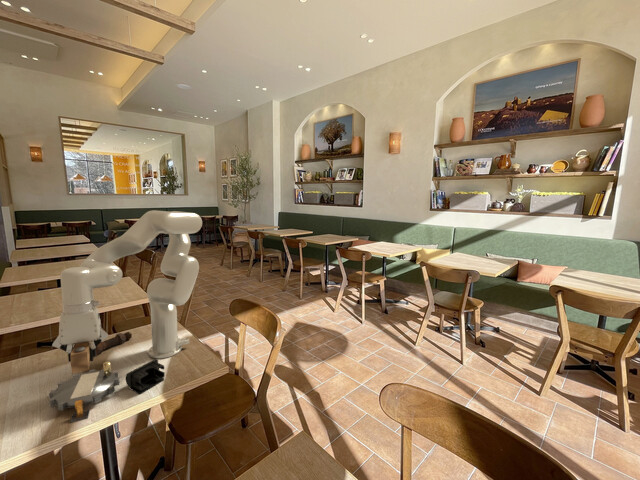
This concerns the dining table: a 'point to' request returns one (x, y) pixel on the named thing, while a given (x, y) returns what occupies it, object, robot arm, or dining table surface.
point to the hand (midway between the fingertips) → (82, 360)
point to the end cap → (145, 377)
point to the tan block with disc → (80, 357)
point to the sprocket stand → (80, 413)
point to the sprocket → (84, 388)
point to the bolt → (113, 341)
